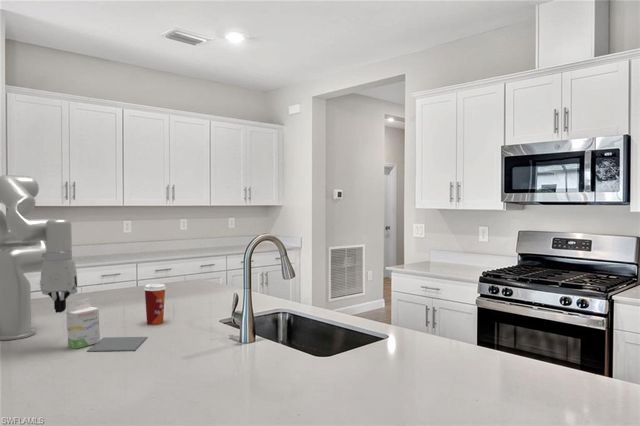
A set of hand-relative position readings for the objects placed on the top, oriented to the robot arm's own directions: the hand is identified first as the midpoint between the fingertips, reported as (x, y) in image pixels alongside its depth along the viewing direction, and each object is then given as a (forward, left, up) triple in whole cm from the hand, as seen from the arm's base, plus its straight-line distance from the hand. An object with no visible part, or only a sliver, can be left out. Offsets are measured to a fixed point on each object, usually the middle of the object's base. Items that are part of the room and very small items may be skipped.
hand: (60, 311), depth 153 cm
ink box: (+8, 0, -12) cm, 14 cm away
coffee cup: (+24, +27, -12) cm, 38 cm away
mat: (+19, 0, -12) cm, 22 cm away
